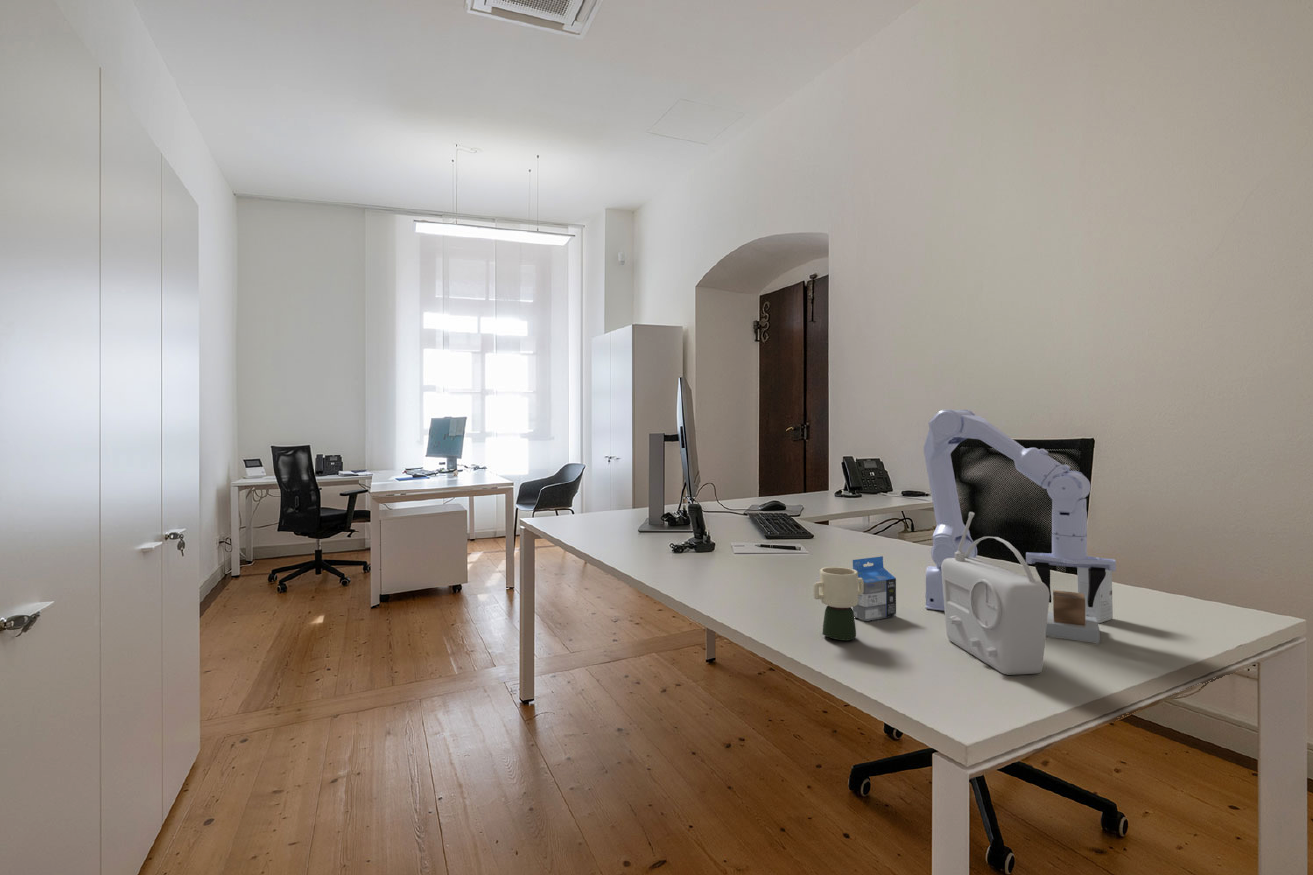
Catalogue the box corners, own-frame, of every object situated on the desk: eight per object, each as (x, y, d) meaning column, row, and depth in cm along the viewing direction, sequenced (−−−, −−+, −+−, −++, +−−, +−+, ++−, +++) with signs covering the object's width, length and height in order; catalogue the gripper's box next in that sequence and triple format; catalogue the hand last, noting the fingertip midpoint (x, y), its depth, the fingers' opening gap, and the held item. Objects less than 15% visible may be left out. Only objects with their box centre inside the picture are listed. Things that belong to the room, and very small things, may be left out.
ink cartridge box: (865, 622, 129) (864, 563, 129) (851, 617, 132) (851, 559, 132) (897, 616, 133) (896, 559, 132) (883, 611, 136) (882, 555, 136)
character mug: (852, 629, 125) (851, 564, 124) (875, 640, 118) (874, 572, 118) (804, 635, 121) (803, 569, 121) (824, 647, 114) (824, 577, 114)
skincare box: (1100, 623, 126) (1100, 564, 126) (1076, 618, 130) (1076, 560, 130) (1113, 618, 130) (1113, 560, 129) (1089, 613, 133) (1089, 557, 133)
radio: (932, 636, 120) (931, 507, 119) (973, 635, 120) (973, 506, 120) (1003, 682, 98) (1003, 524, 98) (1053, 680, 98) (1053, 523, 98)
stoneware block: (1042, 638, 120) (1042, 622, 120) (1042, 625, 127) (1042, 610, 127) (1099, 646, 115) (1099, 630, 115) (1095, 632, 123) (1095, 617, 123)
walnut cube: (1054, 621, 120) (1053, 596, 120) (1053, 614, 124) (1053, 590, 124) (1085, 625, 118) (1085, 599, 117) (1083, 618, 122) (1083, 593, 122)
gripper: (1025, 534, 121) (1025, 603, 121) (1117, 540, 114) (1117, 614, 114) (1026, 529, 127) (1026, 595, 128) (1113, 534, 120) (1113, 604, 120)
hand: (1069, 603), depth 121 cm, fingers open, 6 cm apart
